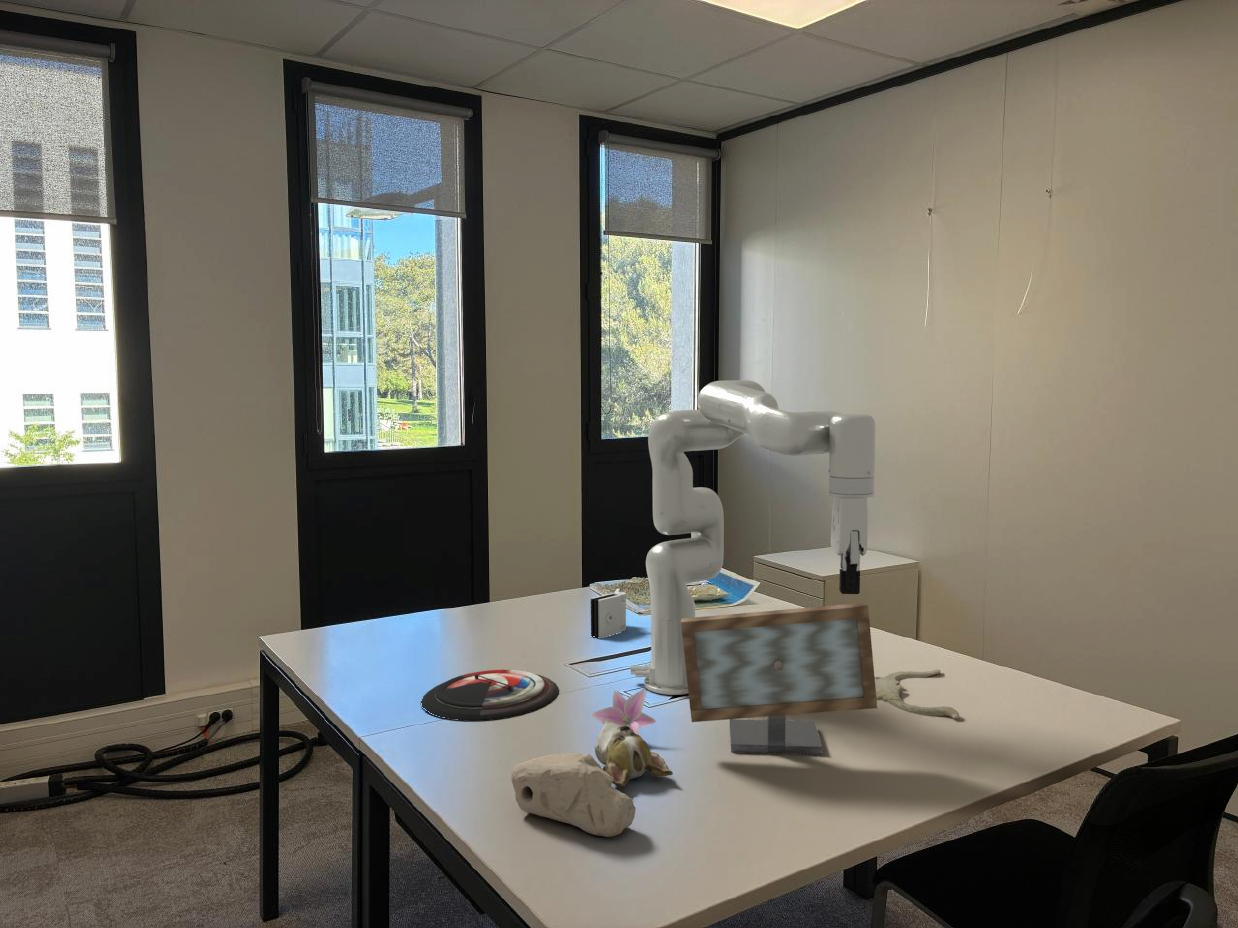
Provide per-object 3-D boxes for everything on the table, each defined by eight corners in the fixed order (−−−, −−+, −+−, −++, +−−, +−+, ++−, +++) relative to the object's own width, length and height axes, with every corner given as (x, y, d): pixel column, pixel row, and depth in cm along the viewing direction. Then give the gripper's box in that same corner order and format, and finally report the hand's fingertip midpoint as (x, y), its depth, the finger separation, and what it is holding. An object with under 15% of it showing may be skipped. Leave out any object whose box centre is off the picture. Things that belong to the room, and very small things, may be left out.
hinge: (617, 625, 251) (617, 588, 250) (634, 627, 248) (634, 590, 247) (588, 637, 239) (587, 598, 238) (605, 640, 237) (605, 601, 236)
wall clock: (504, 676, 217) (393, 702, 195) (505, 657, 217) (393, 680, 195) (586, 703, 199) (473, 734, 177) (586, 681, 199) (474, 710, 176)
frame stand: (731, 752, 167) (731, 648, 165) (729, 726, 179) (729, 629, 177) (822, 754, 165) (823, 649, 163) (814, 728, 177) (815, 630, 175)
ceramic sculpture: (634, 705, 166) (677, 739, 153) (633, 751, 167) (675, 788, 154) (579, 716, 161) (618, 752, 148) (579, 763, 163) (618, 803, 149)
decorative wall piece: (802, 716, 186) (961, 725, 180) (802, 702, 186) (961, 710, 180) (803, 668, 216) (939, 674, 210) (803, 655, 215) (939, 661, 210)
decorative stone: (503, 813, 145) (502, 751, 144) (533, 794, 151) (532, 734, 150) (614, 848, 134) (613, 781, 133) (641, 826, 140) (640, 762, 139)
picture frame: (691, 723, 164) (680, 622, 162) (691, 717, 167) (681, 618, 165) (877, 709, 160) (868, 606, 159) (874, 703, 163) (865, 602, 162)
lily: (587, 739, 176) (582, 708, 171) (627, 705, 182) (624, 674, 177) (629, 772, 169) (625, 741, 164) (669, 736, 175) (667, 704, 170)
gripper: (823, 481, 166) (821, 582, 168) (834, 492, 152) (833, 603, 153) (866, 481, 166) (864, 583, 168) (882, 492, 151) (879, 604, 153)
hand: (849, 592), depth 161 cm, fingers closed
